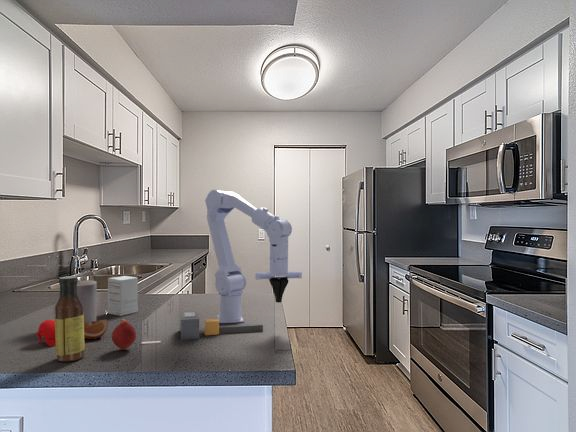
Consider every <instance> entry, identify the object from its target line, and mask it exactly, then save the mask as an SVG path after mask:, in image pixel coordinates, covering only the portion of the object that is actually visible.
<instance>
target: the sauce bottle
mask: <svg viewBox="0 0 576 432" xmlns="http://www.w3.org/2000/svg"><path fill="white" fill-rule="evenodd" d="M77 282H78V276H74V275H71V276H69V275H68V276H62V277H59V278H58V284H59V289H60V291H59V299H58V300H57V302H56V305H55V307H54V310H55V311H54V314H55V315H54V316H55V318H54V321H55V336H56V345H55V354H56V361H58V362H64V363H67V362H74V361H78V360H81V359H82V358H84V356H85V338H84V312H83V307H82V304H81V302H80V300H79V297H78V292H77Z"/></svg>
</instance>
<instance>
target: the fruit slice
mask: <svg viewBox="0 0 576 432" xmlns="http://www.w3.org/2000/svg"><path fill="white" fill-rule="evenodd" d="M108 325H109V322H108V319H99V320H96V321H92V322H91V323H84V339H87V340H96V339H99V338H101V337H103V336H104V334H105V333H106V332H107V331H108Z"/></svg>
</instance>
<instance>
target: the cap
mask: <svg viewBox="0 0 576 432" xmlns="http://www.w3.org/2000/svg"><path fill="white" fill-rule="evenodd" d="M35 333H36V336H37V337H38V343H39V344H41V343H42V338H44V341H45V342H44V343H46V345H48V347H56V336H55V319H46V320H44V321H42V322H41V323H40V324H39V326H38V331H36V332H35Z"/></svg>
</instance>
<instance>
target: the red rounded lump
mask: <svg viewBox="0 0 576 432" xmlns="http://www.w3.org/2000/svg"><path fill="white" fill-rule="evenodd" d="M120 322H121V323H119V324H118V325H117V326H116V327H115V328H114V330H113V331H112V334H111V340H112V343H113V345H114V346H116V347H117V348H119V349H120V350H121V351H125V350H127V349H128V348H129V347H131V346H132V345H133V344H134V343H135V340H136V339H137V338H136V337H137V332H136V329H135V327H134V326H133V325H132V324H131V323H130V322H128V321H127V320H126V319H124V318H122V319H121V320H120Z"/></svg>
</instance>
